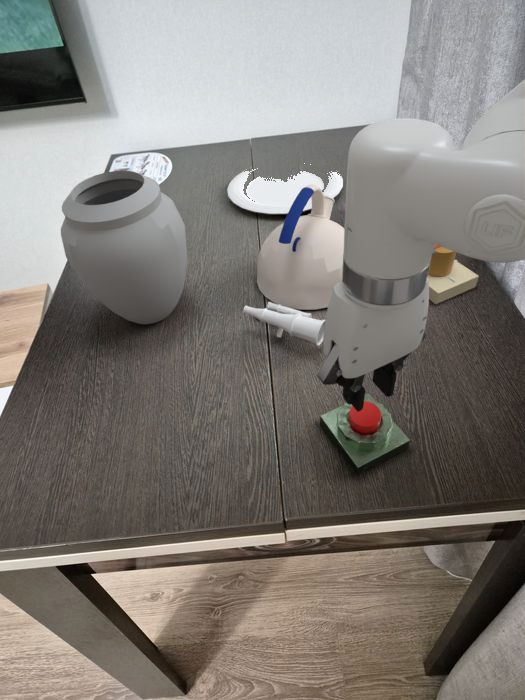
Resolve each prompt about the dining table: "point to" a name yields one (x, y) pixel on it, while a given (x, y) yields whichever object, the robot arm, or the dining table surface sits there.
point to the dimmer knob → (441, 262)
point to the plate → (278, 191)
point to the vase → (126, 244)
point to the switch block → (364, 438)
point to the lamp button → (365, 418)
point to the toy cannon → (290, 322)
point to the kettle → (303, 255)
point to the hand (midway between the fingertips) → (367, 394)
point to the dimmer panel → (451, 283)
